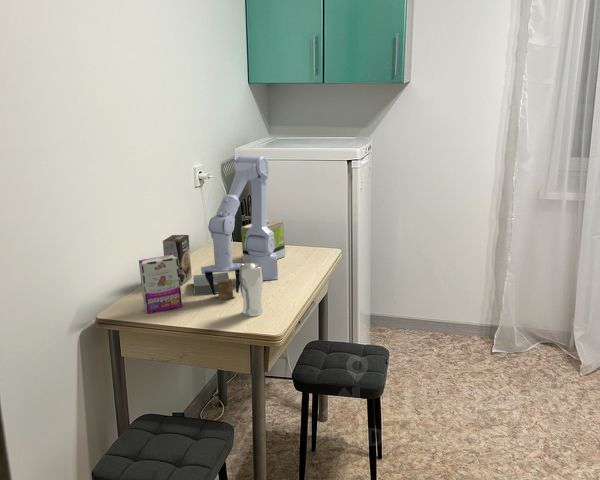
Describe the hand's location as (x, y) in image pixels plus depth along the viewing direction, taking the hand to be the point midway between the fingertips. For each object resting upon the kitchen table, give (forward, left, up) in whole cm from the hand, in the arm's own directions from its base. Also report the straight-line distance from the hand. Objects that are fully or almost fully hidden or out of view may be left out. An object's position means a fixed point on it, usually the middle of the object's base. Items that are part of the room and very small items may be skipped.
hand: (225, 292), depth 192 cm
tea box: (-18, -39, -2) cm, 43 cm away
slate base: (+4, -11, -2) cm, 12 cm away
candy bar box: (+20, +5, -2) cm, 21 cm away
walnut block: (0, 0, -2) cm, 2 cm away
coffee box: (+15, -21, -2) cm, 26 cm away
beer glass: (-7, +16, -2) cm, 18 cm away
